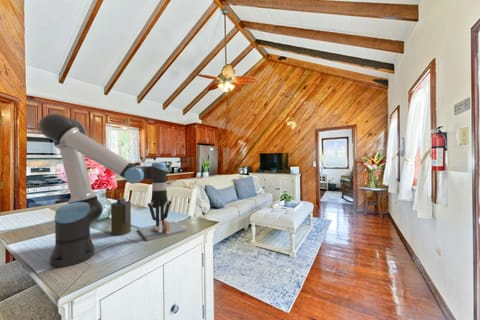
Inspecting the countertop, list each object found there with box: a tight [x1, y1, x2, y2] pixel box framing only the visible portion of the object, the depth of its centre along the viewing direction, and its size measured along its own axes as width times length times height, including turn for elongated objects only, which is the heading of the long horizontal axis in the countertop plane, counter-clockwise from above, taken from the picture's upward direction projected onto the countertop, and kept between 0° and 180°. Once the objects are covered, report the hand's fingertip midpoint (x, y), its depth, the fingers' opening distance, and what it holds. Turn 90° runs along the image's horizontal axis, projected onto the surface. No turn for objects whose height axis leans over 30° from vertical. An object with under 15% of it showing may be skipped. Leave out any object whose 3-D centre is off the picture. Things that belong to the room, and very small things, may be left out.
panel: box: [137, 221, 187, 242], centre depth 120 cm, size 24×20×2 cm
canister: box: [110, 197, 132, 237], centre depth 117 cm, size 11×10×20 cm
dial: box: [152, 219, 171, 232], centre depth 118 cm, size 15×10×6 cm, turn 40°
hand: (159, 231), depth 111 cm, fingers closed
